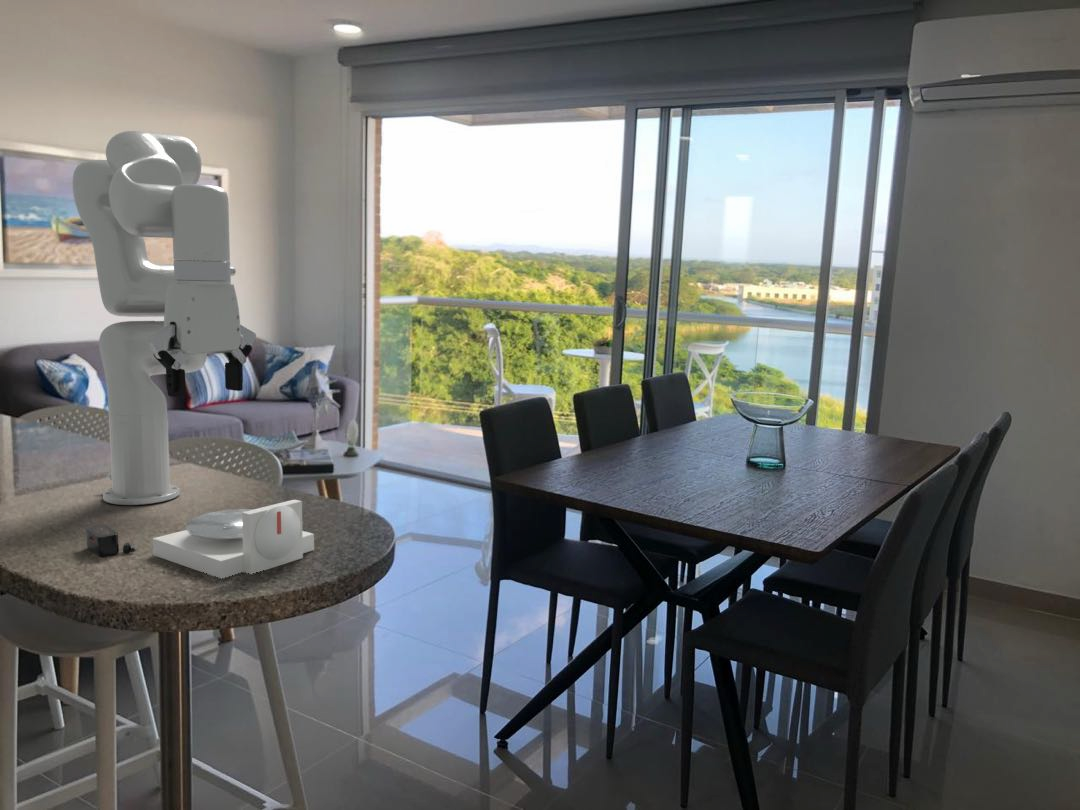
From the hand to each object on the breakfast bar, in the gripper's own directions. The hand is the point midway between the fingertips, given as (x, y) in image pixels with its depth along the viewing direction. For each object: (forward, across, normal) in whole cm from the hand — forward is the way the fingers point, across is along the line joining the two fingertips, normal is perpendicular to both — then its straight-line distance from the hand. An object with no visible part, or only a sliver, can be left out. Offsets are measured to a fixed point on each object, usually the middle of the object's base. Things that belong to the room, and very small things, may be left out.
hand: (206, 393), depth 127 cm
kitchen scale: (+23, -1, +5) cm, 24 cm away
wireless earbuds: (+24, +10, -10) cm, 28 cm away
